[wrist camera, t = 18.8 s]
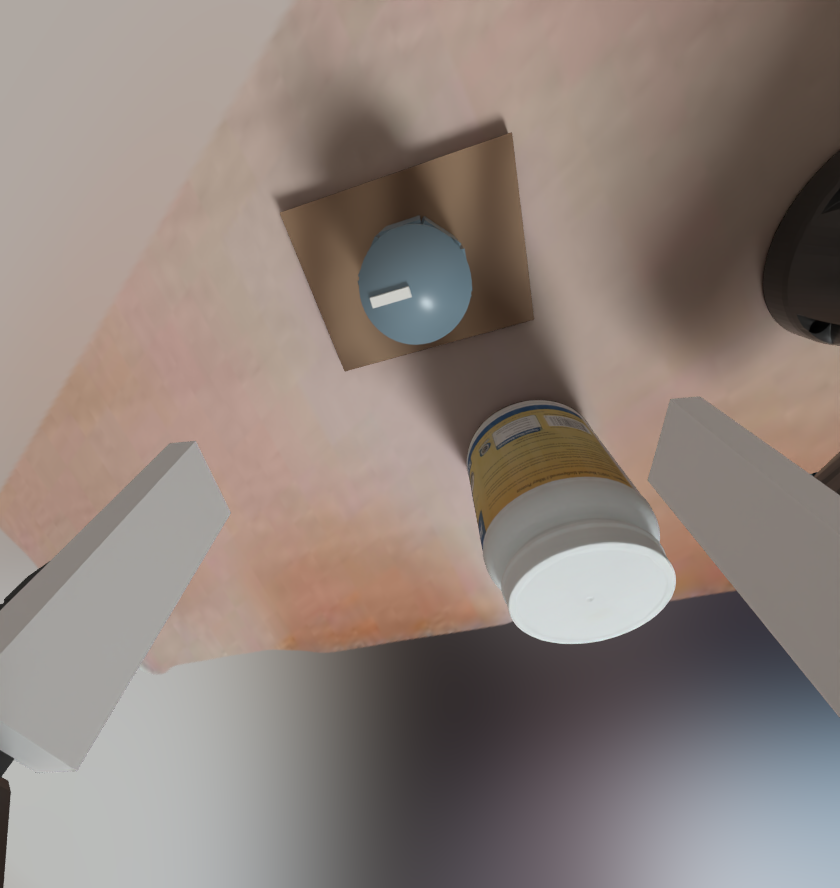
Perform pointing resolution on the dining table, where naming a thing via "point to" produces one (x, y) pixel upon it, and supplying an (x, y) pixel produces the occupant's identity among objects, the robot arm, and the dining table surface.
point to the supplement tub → (564, 527)
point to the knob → (415, 281)
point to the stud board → (426, 194)
